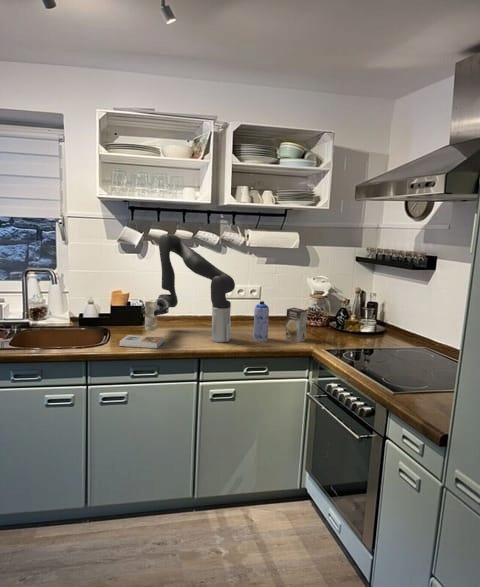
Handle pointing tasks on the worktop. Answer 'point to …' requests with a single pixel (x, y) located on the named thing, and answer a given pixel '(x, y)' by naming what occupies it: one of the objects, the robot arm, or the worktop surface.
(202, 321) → the worktop surface
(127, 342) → the grey flat block
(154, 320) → the peg
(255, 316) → the aerosol can
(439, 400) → the worktop surface
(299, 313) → the coffee box
